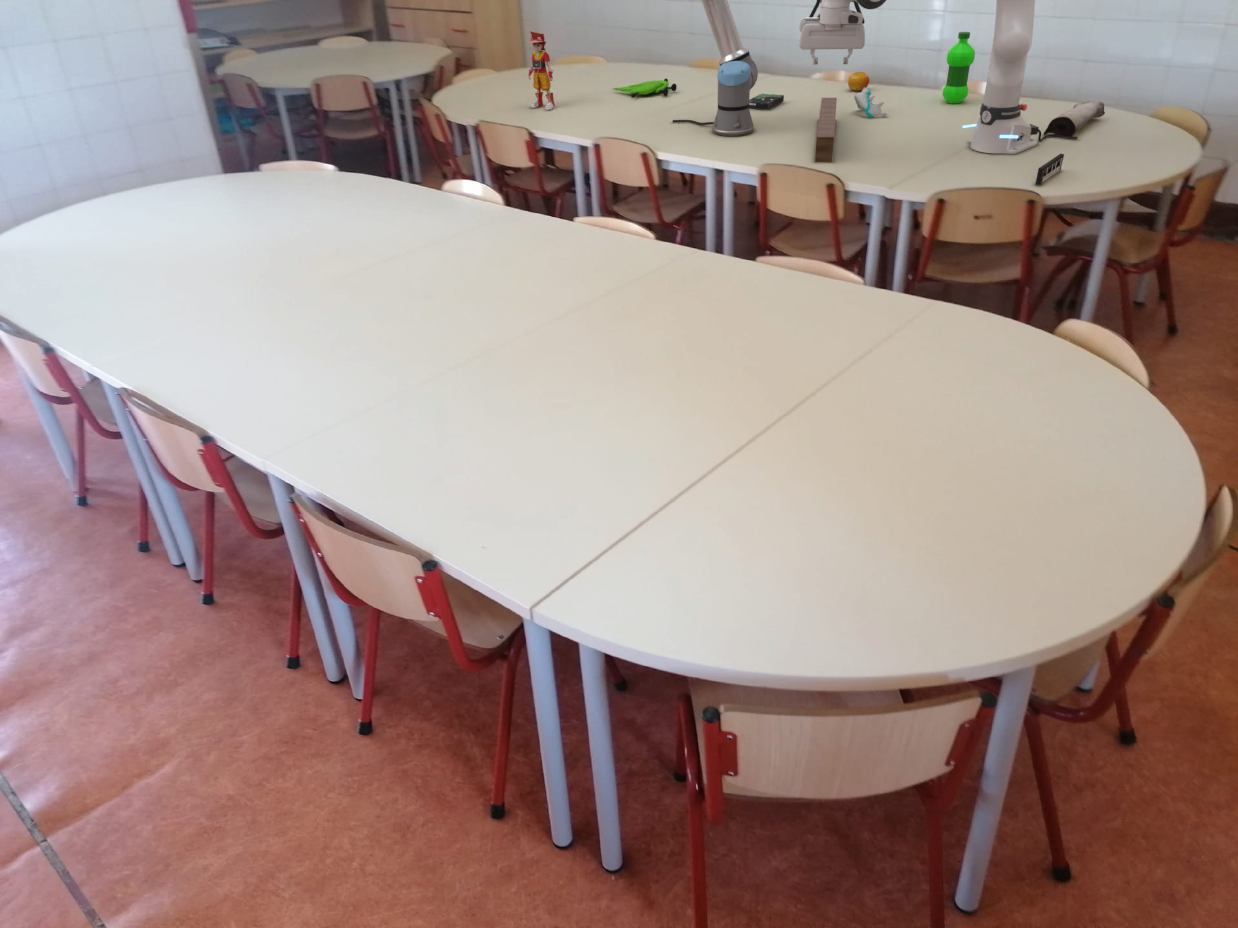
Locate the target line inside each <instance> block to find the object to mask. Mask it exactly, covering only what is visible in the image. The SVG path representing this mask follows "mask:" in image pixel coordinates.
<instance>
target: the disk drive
mask: <svg viewBox="0 0 1238 928" xmlns="http://www.w3.org/2000/svg"><path fill="white" fill-rule="evenodd" d="M784 99H785V95H784V94H775V93H774V94H771V93H760V94H758V95H755V96H753V97H752V98H749V109H755V110H771V109H773V108H775V107H776V106H778V105H780V104H782V103H783V102H784V101H785V100H784Z"/></svg>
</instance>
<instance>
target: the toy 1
mask: <svg viewBox="0 0 1238 928" xmlns="http://www.w3.org/2000/svg"><path fill="white" fill-rule="evenodd" d="M529 33H530V35H531V36H528V37H527V38H528V39H529V40H528V41H527V43H529V44H530V43H531V44H532V48H533V50H534V51H533V52H532V55H531V58H530V59H531V63H530V66H528V74H527V75H528V76H527V77H528V79H529V80H531V75H532V74H533V84H532V85H533V86H532V87H533V88H534V89H535V90H536V92H534V95H535V97H536V100H535V101H533V102H531V105H530V108H531V109H535V108H538V107H542V106H544V101H543V100H544V99H543V95H544V92H546V94H545V97H546V99H547V103H546V104H545V106H544V110H546V111H549V110H553V109H554V107H555V106H556V105H555V99H554V92H551V91H550V90H551V86H552V84H551V82H552V81H553V80H554V77H553V73H554V71H555V70H554V69H552V68H551V63H550V61H551V59H550V58H551V57H550V54H549V53H548V52H547V50H546V48H545V46H546V44H547V41H545V35H544V33H543V32H542V33H539V32H535V31H529Z"/></svg>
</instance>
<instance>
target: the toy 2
mask: <svg viewBox="0 0 1238 928" xmlns="http://www.w3.org/2000/svg"><path fill="white" fill-rule="evenodd" d="M669 85H670V83H669V79H668V78H664V79H663V80H649V81H644V82H640V83H634V84H629V85H627V86H621V87H613V88H612V89H613V90H616V91H619V92H623V93H627V94H628V93H629V94H631V95H630V96H631V98H632V99H634V98H636V96H637V95H650V94H652V93H654V94H658V93H662V95H663V96H665V97H667V96H668V95H669V90H671V91H672V92H676V91H677V84H676V83H672V84H671V86H669Z"/></svg>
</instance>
